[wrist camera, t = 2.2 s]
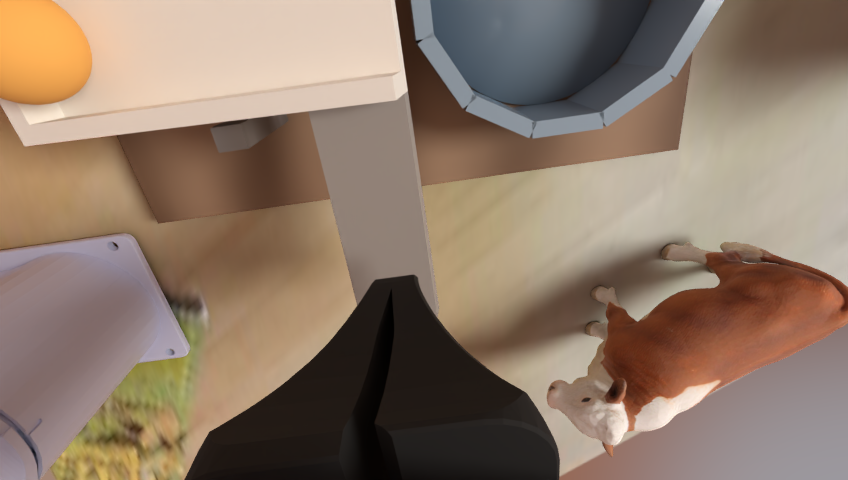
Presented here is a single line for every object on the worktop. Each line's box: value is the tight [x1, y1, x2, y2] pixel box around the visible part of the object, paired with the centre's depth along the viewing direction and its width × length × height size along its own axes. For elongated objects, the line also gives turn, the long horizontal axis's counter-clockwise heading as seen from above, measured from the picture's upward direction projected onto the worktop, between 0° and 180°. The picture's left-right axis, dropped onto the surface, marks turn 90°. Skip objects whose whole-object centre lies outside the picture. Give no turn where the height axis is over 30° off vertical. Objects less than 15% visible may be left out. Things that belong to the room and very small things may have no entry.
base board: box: [117, 0, 693, 223], centre depth 14 cm, size 25×15×6 cm, turn 98°
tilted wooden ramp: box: [0, 0, 439, 317], centre depth 14 cm, size 12×13×3 cm
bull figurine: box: [547, 242, 848, 457], centre depth 20 cm, size 4×13×8 cm, turn 120°
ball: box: [0, 0, 92, 105], centre depth 11 cm, size 3×3×3 cm
